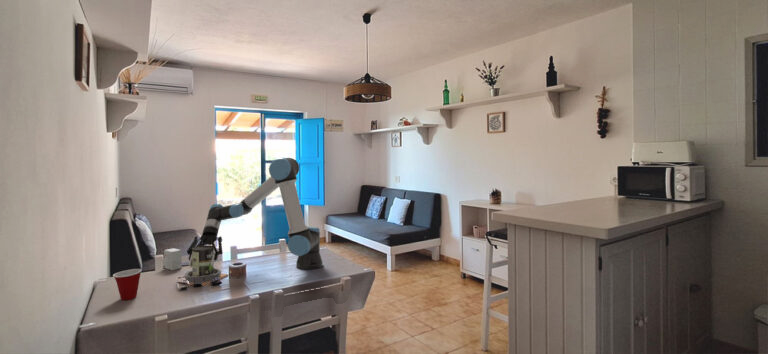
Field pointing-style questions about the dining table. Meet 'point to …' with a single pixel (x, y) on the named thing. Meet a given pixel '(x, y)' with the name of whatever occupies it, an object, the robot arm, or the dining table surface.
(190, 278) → the collar plate
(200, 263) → the coffee can
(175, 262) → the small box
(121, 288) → the plastic cup
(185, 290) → the dining table surface
